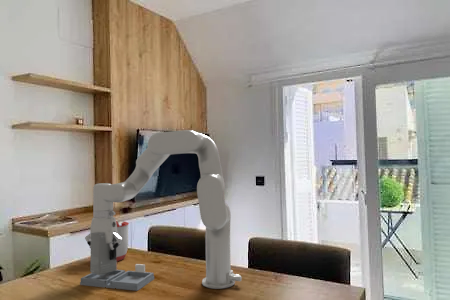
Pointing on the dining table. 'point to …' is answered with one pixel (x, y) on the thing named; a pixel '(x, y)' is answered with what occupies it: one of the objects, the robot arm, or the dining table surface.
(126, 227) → the citrus juicer
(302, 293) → the dining table surface
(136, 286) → the tray
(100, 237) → the skincare box
